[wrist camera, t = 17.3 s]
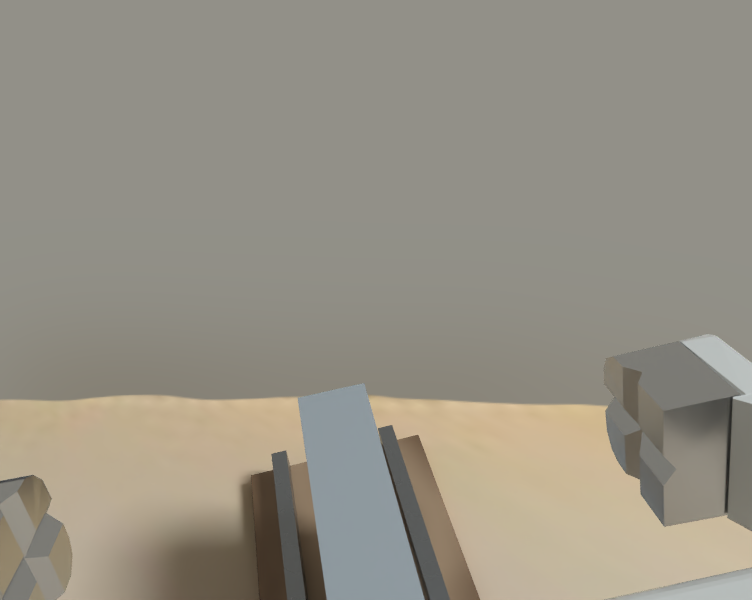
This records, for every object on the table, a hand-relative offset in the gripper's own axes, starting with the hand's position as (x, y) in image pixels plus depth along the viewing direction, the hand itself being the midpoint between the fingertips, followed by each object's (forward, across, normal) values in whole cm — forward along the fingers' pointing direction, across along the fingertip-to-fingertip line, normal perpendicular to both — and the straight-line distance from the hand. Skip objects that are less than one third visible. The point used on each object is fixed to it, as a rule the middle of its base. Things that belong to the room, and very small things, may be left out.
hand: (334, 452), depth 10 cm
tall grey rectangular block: (+17, -1, -25) cm, 30 cm away
